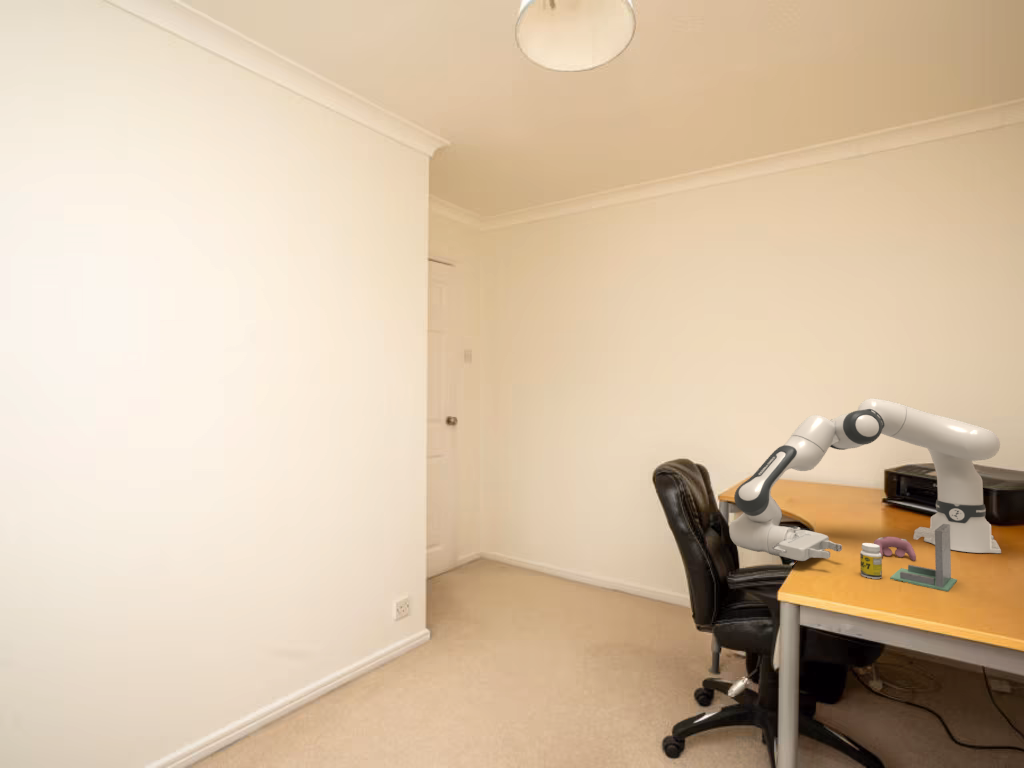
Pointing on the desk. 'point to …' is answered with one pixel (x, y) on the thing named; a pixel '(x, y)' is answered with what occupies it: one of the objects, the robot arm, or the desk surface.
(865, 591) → the desk surface
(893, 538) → the video game controller
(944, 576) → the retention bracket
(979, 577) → the desk surface
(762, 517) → the robot arm
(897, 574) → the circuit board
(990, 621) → the desk surface
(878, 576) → the supplement bottle
